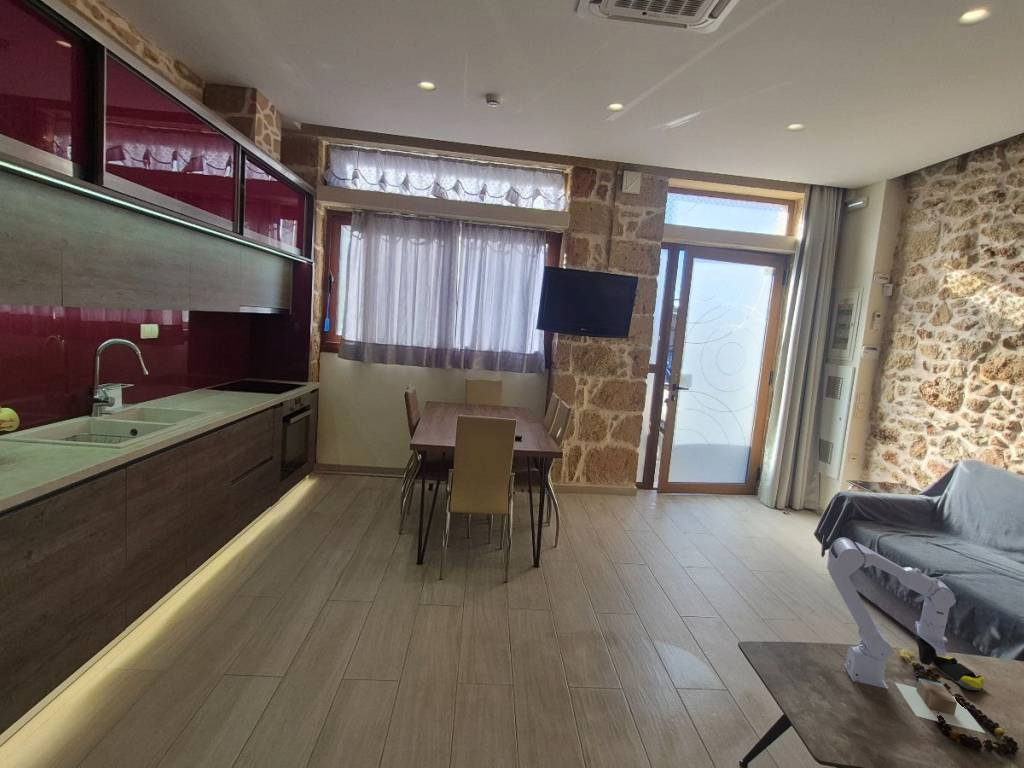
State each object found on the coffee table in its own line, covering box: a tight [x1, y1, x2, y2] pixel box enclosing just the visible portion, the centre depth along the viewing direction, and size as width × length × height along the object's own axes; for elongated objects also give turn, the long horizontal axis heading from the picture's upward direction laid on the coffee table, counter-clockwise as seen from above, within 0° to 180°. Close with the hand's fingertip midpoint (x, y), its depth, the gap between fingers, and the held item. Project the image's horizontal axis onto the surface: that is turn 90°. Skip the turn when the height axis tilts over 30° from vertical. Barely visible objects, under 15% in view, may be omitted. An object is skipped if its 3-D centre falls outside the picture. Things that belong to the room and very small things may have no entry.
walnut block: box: [915, 678, 957, 715], centre depth 147 cm, size 6×4×8 cm
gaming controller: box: [930, 655, 985, 691], centre depth 159 cm, size 15×6×10 cm
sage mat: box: [894, 682, 986, 734], centre depth 146 cm, size 16×14×1 cm
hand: (924, 663), depth 151 cm, fingers closed
